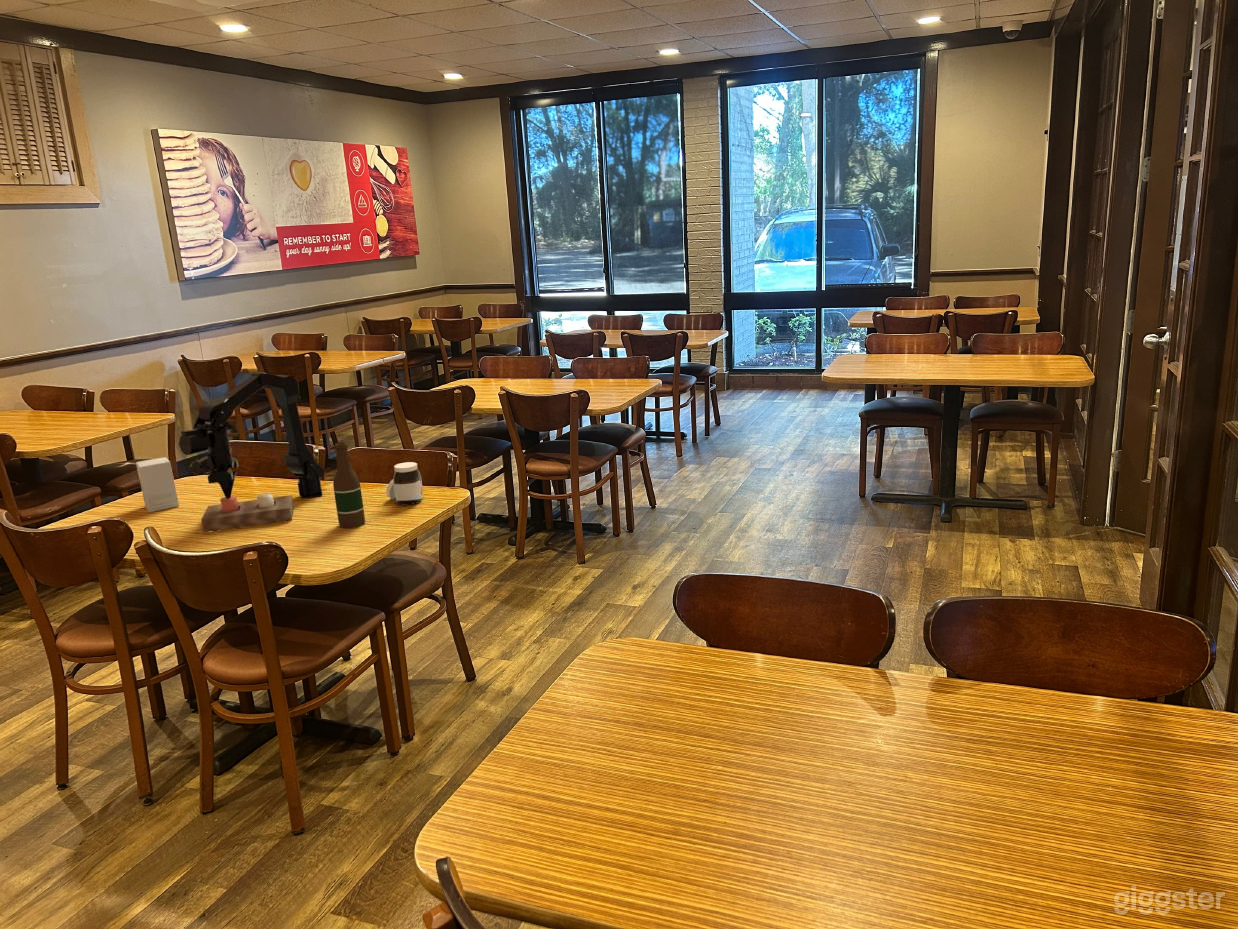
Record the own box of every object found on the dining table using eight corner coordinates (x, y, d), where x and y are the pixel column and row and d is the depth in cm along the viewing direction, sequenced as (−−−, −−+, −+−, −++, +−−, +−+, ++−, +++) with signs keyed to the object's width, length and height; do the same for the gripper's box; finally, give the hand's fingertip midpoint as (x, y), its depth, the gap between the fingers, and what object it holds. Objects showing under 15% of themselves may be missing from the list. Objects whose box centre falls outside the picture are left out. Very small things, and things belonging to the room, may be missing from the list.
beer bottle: (361, 528, 250) (350, 445, 244) (334, 529, 251) (322, 447, 245) (369, 519, 258) (358, 439, 252) (343, 520, 258) (331, 440, 252)
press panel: (294, 507, 274) (292, 495, 273) (291, 520, 261) (289, 507, 260) (210, 518, 267) (207, 506, 266) (203, 532, 254) (201, 519, 253)
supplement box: (175, 500, 289) (166, 456, 285) (179, 506, 282) (171, 461, 278) (144, 506, 284) (135, 461, 281) (148, 512, 277) (138, 466, 273)
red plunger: (240, 514, 265) (237, 495, 264) (238, 518, 261) (235, 499, 259) (224, 516, 264) (221, 497, 262) (222, 520, 260) (219, 501, 258)
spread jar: (418, 505, 269) (414, 468, 265) (381, 507, 269) (376, 470, 266) (427, 494, 280) (423, 458, 277) (392, 496, 280) (387, 460, 277)
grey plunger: (276, 511, 268) (273, 492, 266) (275, 516, 264) (272, 496, 262) (260, 513, 267) (257, 494, 265) (259, 518, 263) (256, 498, 261)
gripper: (193, 443, 263) (203, 493, 267) (183, 457, 246) (193, 511, 250) (234, 438, 266) (242, 488, 270) (226, 452, 249) (236, 505, 253)
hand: (228, 498), depth 261 cm, fingers closed, pressing on red plunger
